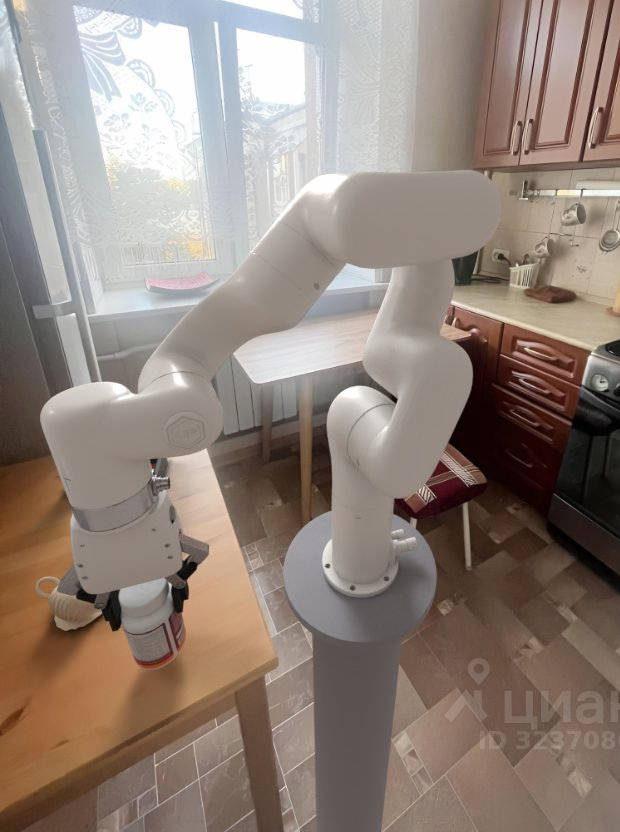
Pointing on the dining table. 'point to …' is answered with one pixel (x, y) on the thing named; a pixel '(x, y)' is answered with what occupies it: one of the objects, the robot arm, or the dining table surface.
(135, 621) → the pill bottle
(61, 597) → the decorative ornament
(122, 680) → the dining table surface
